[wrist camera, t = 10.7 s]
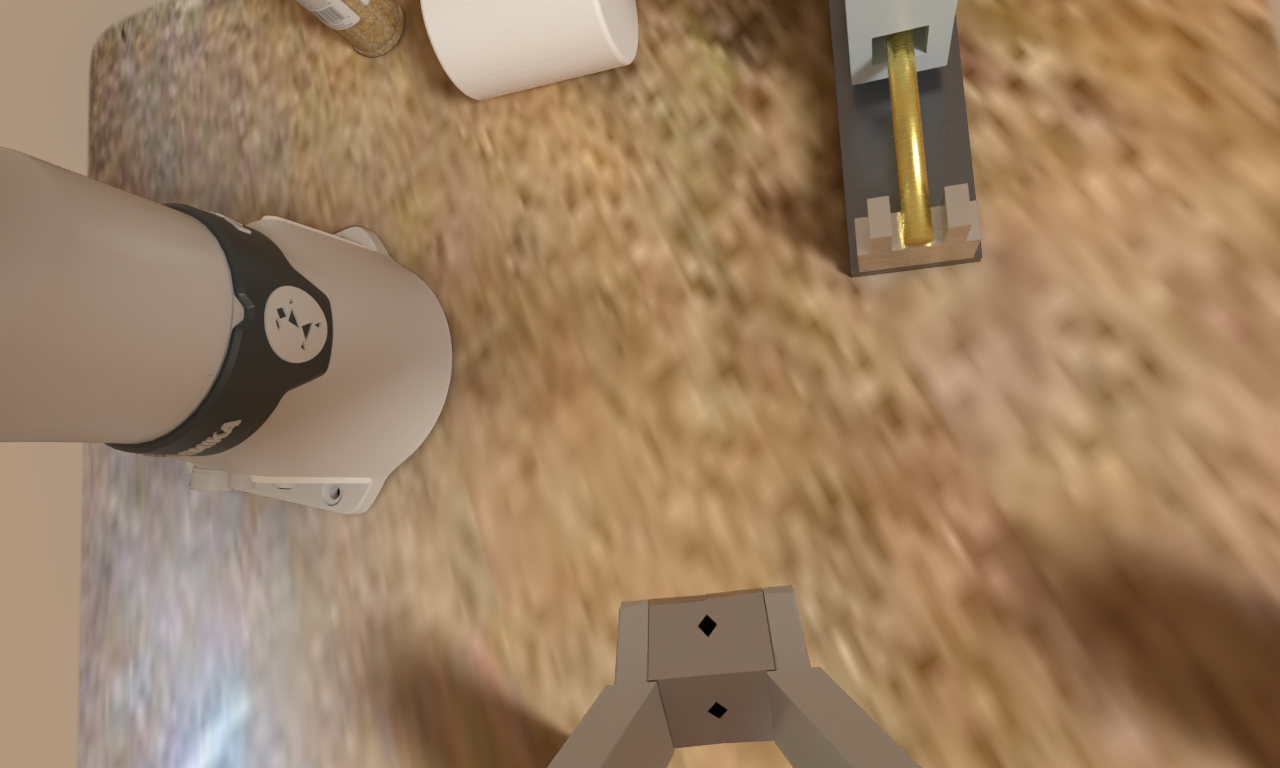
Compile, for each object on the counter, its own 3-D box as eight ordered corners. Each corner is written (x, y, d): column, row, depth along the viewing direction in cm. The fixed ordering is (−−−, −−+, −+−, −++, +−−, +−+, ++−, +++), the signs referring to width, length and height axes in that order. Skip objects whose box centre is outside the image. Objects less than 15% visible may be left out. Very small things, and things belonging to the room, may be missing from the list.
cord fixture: (851, 277, 35) (842, 216, 27) (824, -56, 38) (808, -206, 30) (979, 261, 33) (1013, 190, 25) (941, -89, 36) (960, -259, 28)
